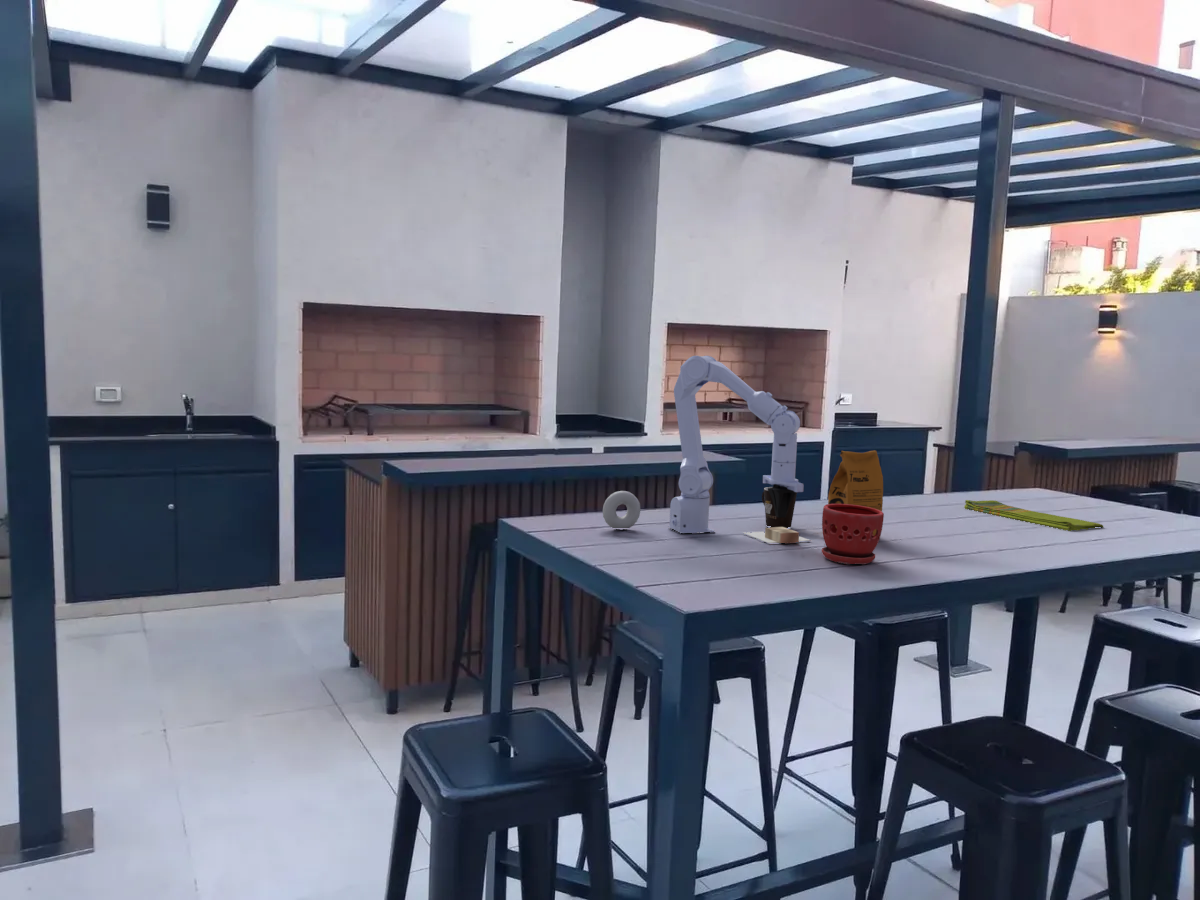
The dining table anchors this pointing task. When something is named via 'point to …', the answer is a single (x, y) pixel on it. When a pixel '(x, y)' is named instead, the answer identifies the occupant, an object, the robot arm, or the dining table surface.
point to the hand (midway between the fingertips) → (780, 516)
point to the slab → (781, 535)
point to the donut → (612, 505)
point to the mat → (762, 537)
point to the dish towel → (1029, 515)
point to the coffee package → (858, 481)
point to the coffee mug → (770, 512)
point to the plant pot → (851, 533)
